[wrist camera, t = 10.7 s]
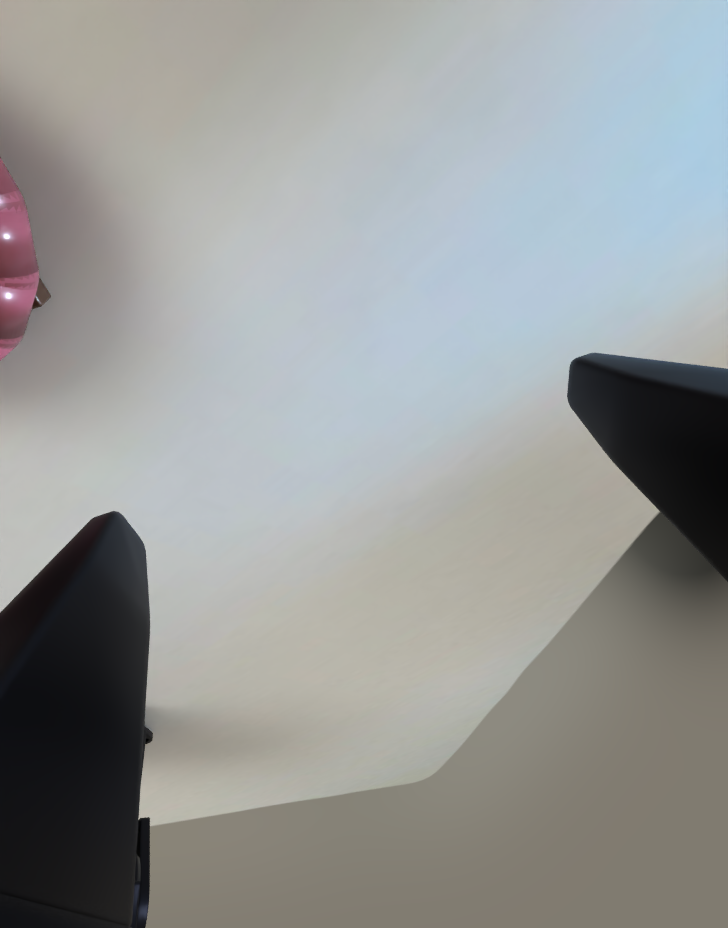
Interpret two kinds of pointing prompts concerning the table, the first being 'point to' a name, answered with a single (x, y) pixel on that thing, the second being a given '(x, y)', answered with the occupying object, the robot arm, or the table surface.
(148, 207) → the table surface
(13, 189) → the ring
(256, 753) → the table surface
